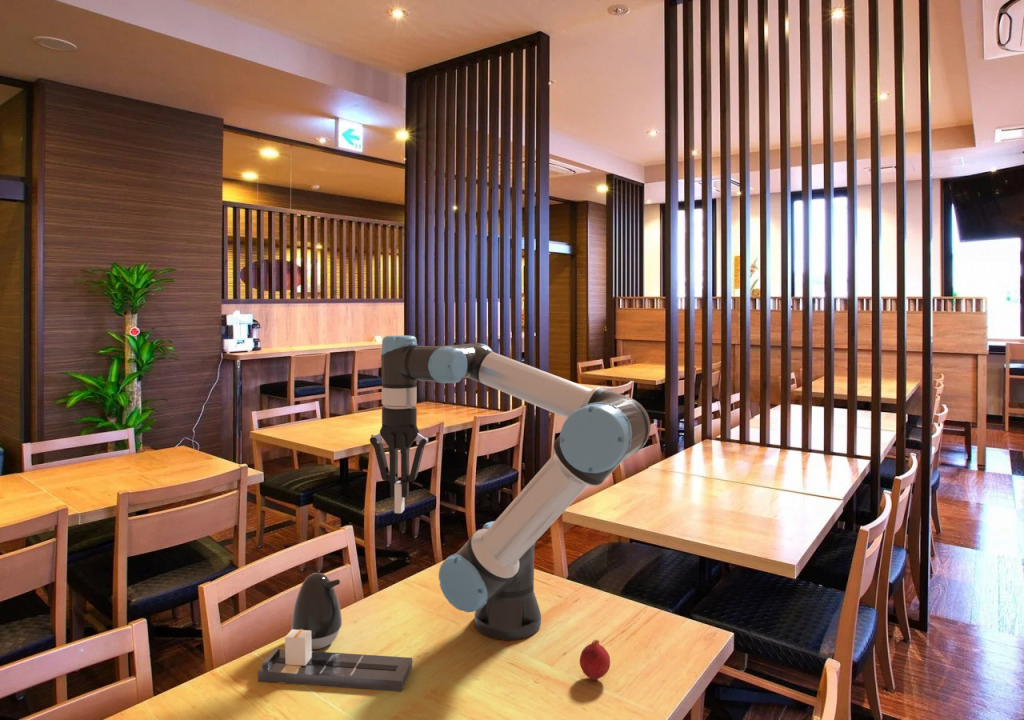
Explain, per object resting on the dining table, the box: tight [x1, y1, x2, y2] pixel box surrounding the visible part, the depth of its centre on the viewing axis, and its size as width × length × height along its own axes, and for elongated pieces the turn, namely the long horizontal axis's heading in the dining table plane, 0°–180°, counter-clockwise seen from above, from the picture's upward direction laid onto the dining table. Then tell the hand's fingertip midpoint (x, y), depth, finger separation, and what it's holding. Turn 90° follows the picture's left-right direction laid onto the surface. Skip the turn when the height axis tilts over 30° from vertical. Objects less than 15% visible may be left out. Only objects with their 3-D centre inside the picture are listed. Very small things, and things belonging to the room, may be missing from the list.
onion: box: [579, 638, 611, 681], centre depth 123 cm, size 6×6×8 cm
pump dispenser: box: [291, 572, 343, 650], centre depth 135 cm, size 10×10×15 cm
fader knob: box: [284, 628, 313, 666], centre depth 125 cm, size 4×3×6 cm
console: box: [257, 647, 413, 692], centre depth 124 cm, size 28×8×3 cm, turn 84°
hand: (399, 511), depth 141 cm, fingers closed
